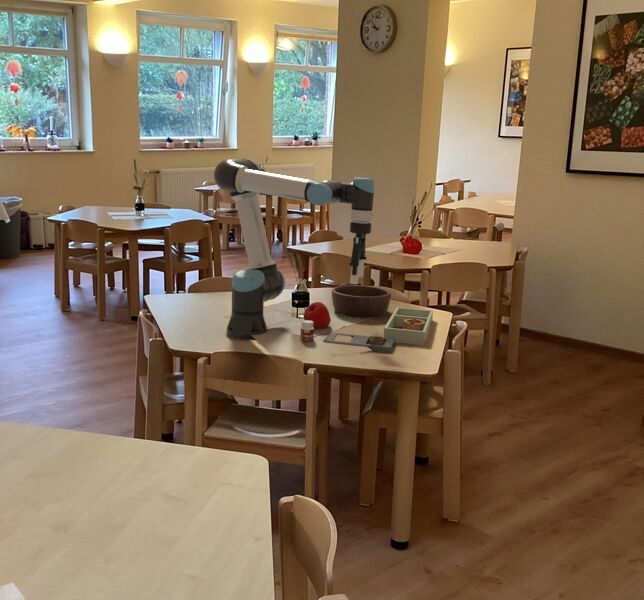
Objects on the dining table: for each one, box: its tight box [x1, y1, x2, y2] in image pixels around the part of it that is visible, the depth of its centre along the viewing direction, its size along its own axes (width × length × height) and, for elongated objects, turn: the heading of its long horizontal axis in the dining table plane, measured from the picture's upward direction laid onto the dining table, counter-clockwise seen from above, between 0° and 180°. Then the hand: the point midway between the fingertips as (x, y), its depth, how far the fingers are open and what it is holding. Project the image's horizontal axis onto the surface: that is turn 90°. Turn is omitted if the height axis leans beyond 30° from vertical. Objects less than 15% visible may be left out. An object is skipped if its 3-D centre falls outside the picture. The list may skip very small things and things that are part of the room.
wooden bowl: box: [331, 284, 392, 319], centre depth 316 cm, size 25×25×10 cm
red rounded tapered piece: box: [303, 301, 332, 329], centre depth 284 cm, size 10×10×11 cm
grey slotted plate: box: [323, 332, 396, 354], centre depth 269 cm, size 24×12×2 cm, turn 77°
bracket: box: [402, 319, 425, 331], centre depth 295 cm, size 18×8×7 cm, turn 167°
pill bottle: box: [299, 319, 315, 343], centre depth 266 cm, size 5×5×8 cm
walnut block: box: [369, 332, 384, 346], centre depth 268 cm, size 4×4×4 cm
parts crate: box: [383, 306, 434, 346], centre depth 292 cm, size 15×37×5 cm, turn 167°
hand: (356, 280), depth 270 cm, fingers open, 13 cm apart
